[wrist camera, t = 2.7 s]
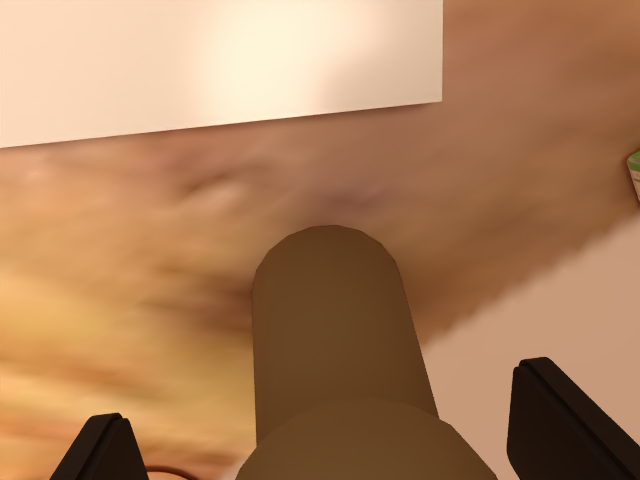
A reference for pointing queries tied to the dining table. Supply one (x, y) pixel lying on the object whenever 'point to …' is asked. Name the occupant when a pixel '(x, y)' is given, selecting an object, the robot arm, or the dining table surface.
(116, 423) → the robot arm
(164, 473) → the white tall cup
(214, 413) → the dining table surface
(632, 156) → the syrup box
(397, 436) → the cork
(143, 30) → the ceramic tile
